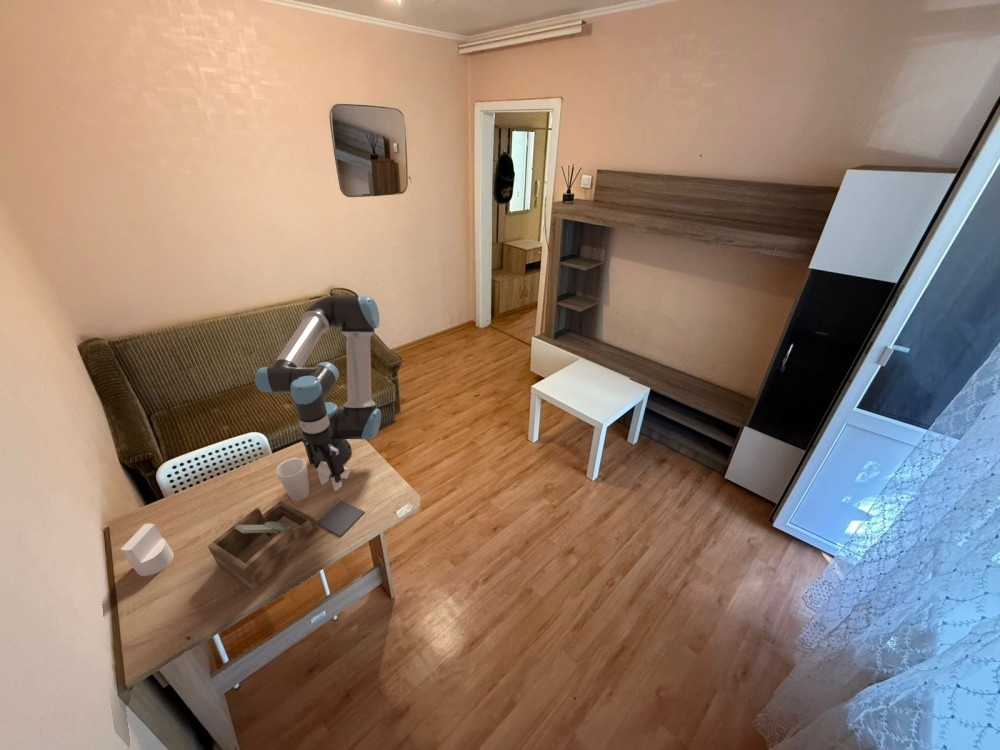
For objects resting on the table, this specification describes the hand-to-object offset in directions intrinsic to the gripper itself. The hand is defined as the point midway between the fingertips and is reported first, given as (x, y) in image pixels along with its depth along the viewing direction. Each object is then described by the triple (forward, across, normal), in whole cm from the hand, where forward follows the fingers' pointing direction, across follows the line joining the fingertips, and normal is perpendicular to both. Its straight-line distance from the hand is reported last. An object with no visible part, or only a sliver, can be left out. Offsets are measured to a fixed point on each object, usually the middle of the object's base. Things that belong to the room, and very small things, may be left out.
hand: (331, 484), depth 130 cm
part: (-3, 0, +1) cm, 3 cm away
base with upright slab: (+16, -37, -38) cm, 55 cm away
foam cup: (+16, -21, +1) cm, 27 cm away
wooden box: (+16, -11, -18) cm, 27 cm away
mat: (+16, 0, 0) cm, 16 cm away
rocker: (+9, -11, -18) cm, 23 cm away
